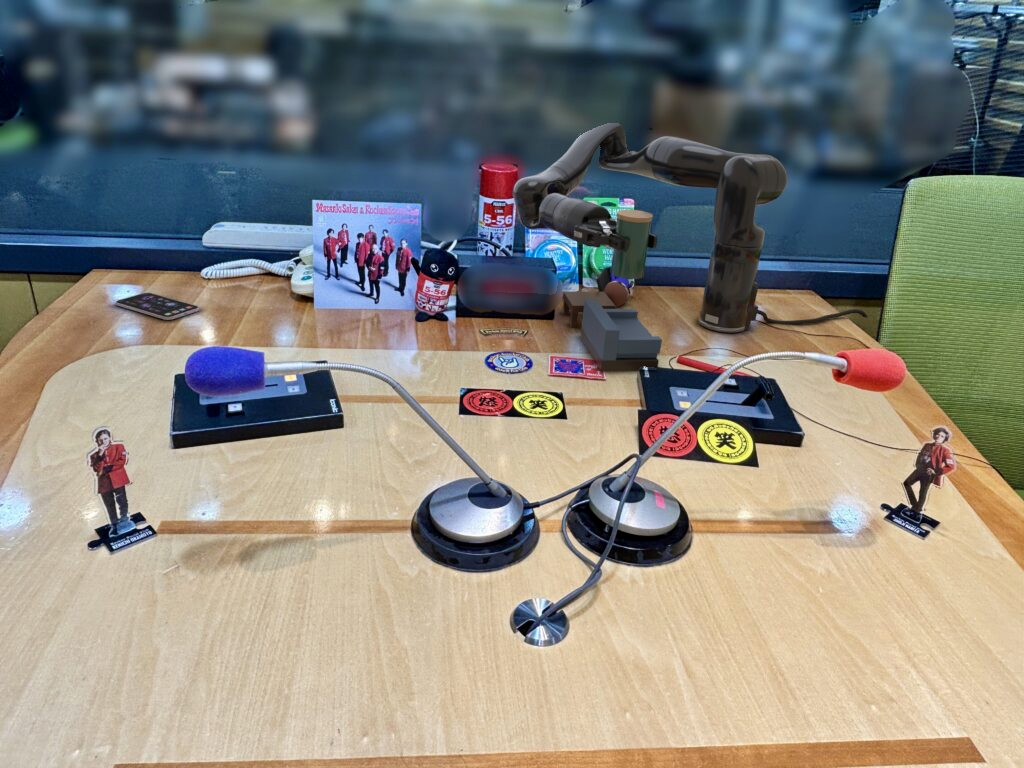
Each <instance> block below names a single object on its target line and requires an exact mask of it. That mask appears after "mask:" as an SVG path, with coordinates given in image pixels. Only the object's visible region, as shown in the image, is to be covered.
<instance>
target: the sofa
mask: <svg viewBox="0 0 1024 768" xmlns="http://www.w3.org/2000/svg"><path fill="white" fill-rule="evenodd" d="M638 315H639V311H638V310H637V309H636V308H615V309H603V307H602V306H601V305H600V303H599V302H598V301H597V300H585V301H584V311H583V313H582V319H581V321H582V322H581V329H580V331H581V332H580V339H581V341H582V342H583V344H584V345H585V347H586V349H587V351H588V352H589V354H590V356H591V357H592V359H593V361H594V362H595V365H597V367H598V369H599V370H600V372H640V371H639V368H640V367H643V366H646V367H654V368H657V369H658V368H659V362H660V360H659V359H658V354H661V349H662V343H663V338H662V337H660V336H659V335H657V336H656V335H652V334H651V332H650V331H649V330H648V329H647V327H645V325H644V324H643V323H642V321H641V320H639V318H638V317H639V316H638Z"/></svg>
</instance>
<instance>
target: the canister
mask: <svg viewBox="0 0 1024 768" xmlns="http://www.w3.org/2000/svg"><path fill="white" fill-rule="evenodd" d="M653 218H654V215H653V214H652V213H650V212H648V211H645V210H639V209H638V210H637V209H620V210H618V211H617V212H616V219H617V223H616V231H615V234H617V235H619V236H622V237H625V238H627V239H628V240H629V244H628V250H627V251H626V252H622V251H619V250H617V249H614V248H612V255H611V263H610V264H611V265H610V267H611V274H612V275H614V276H616V277H619V278H624V279H628V280H638V279H642V278H643V277H644V276H645V269H646V262H647V255H648V248H649V247H648V242H649V235H650V233H651V228H652V221H653Z"/></svg>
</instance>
